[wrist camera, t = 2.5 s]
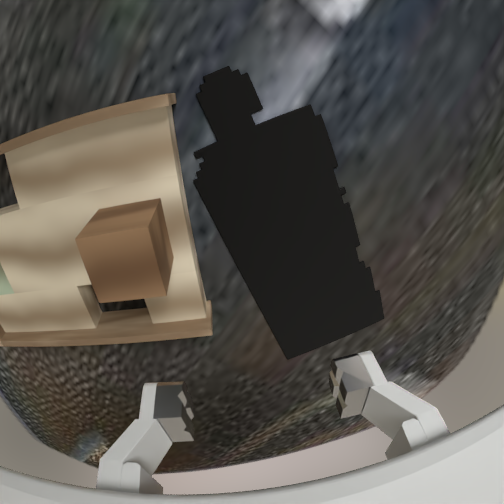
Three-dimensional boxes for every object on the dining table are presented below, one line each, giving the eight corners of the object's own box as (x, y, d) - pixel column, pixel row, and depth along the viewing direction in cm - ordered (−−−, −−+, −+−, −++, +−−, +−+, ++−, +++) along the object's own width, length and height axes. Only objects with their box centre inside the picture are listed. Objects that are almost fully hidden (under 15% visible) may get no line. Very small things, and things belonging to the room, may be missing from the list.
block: (98, 209, 22) (74, 239, 17) (160, 198, 22) (147, 226, 18) (116, 265, 24) (99, 303, 20) (173, 257, 25) (166, 295, 20)
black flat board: (287, 359, 35) (153, 100, 21) (286, 356, 36) (154, 100, 21) (384, 318, 34) (304, 39, 19) (382, 315, 35) (303, 40, 20)
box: (-51, 169, 19) (-75, 183, 16) (175, 92, 21) (167, 93, 17) (12, 323, 29) (-1, 346, 26) (211, 306, 30) (212, 335, 27)
